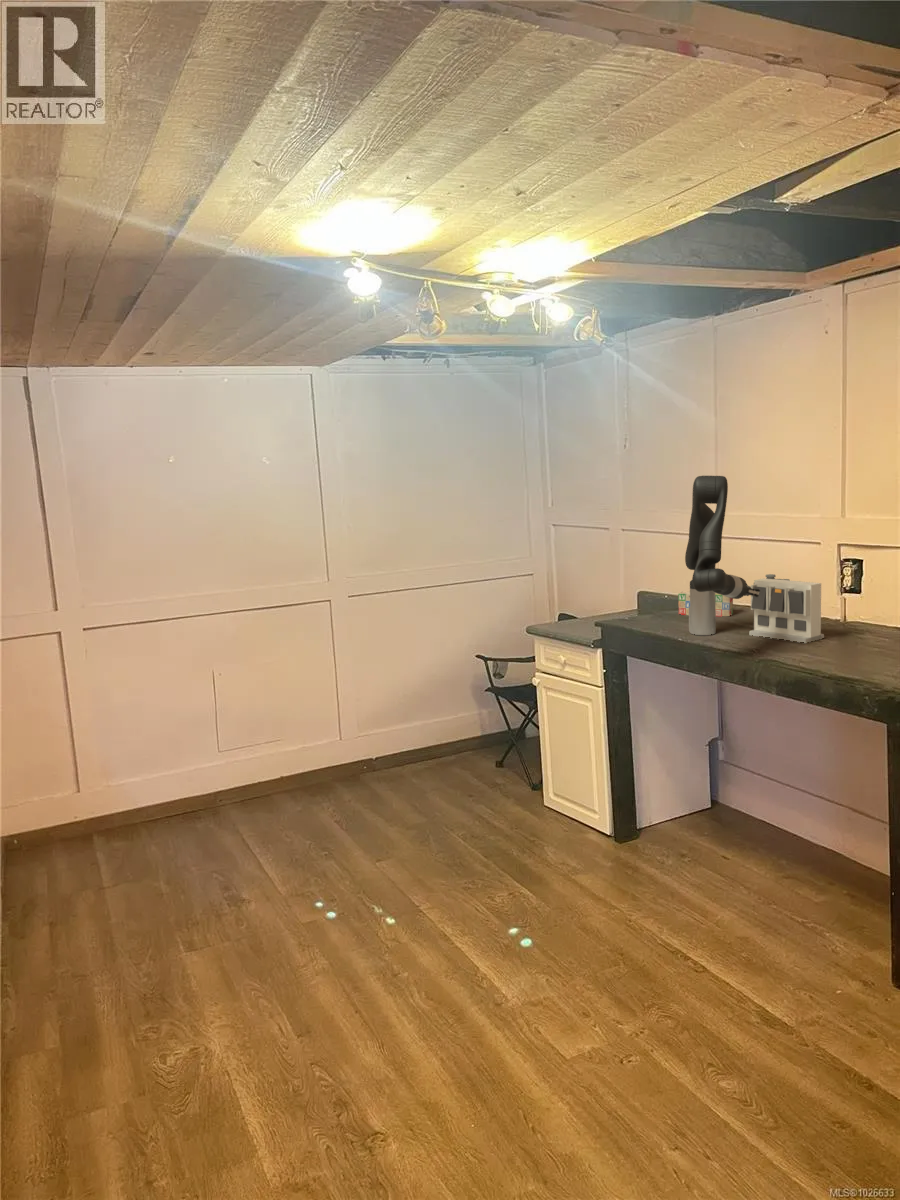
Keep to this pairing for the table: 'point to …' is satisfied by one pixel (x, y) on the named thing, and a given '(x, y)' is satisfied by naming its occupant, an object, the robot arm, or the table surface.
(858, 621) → the table surface
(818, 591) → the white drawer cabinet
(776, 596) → the outlet rocker
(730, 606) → the stack of blocks
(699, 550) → the robot arm
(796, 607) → the outlet rocker
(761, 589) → the rocker switch
